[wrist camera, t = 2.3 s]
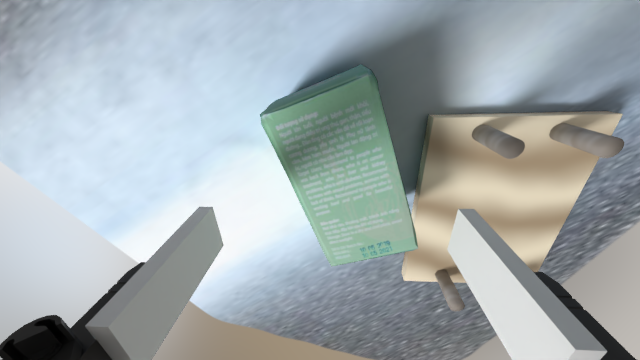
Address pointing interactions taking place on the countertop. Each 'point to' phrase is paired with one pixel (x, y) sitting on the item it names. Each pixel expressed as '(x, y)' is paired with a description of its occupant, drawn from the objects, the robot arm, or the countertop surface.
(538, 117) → the tray
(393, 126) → the countertop surface
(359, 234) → the box
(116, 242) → the countertop surface
